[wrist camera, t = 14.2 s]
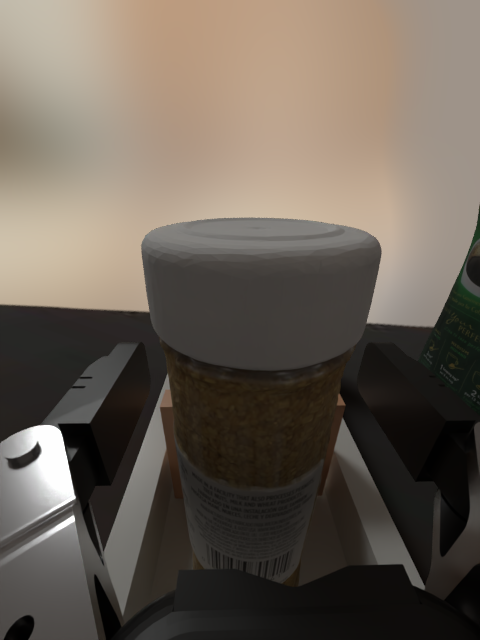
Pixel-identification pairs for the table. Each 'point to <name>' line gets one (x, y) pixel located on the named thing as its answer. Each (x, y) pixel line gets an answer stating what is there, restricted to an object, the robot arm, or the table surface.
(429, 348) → the coffee jar
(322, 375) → the sprinkles bottle
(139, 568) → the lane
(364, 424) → the table surface
